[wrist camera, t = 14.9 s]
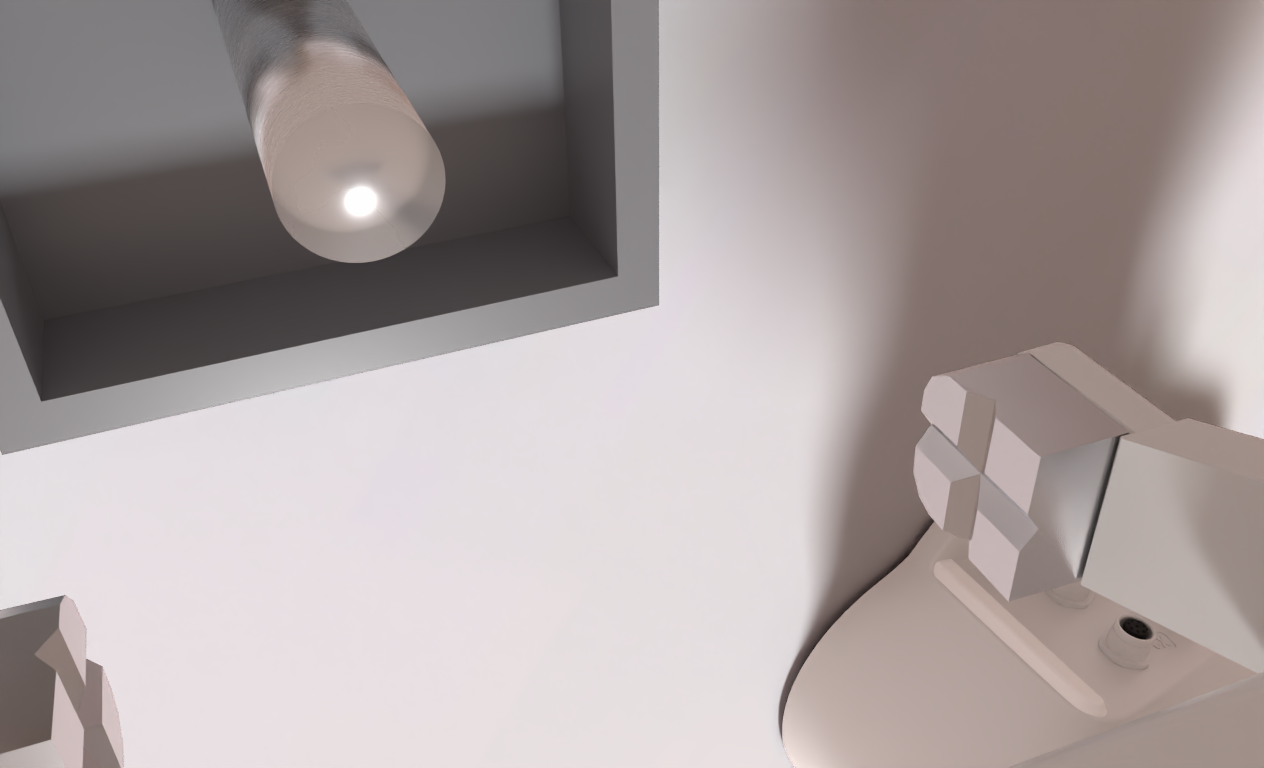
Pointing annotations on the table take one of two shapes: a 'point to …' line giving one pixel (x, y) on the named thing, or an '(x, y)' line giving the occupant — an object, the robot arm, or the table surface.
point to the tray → (251, 229)
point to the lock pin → (332, 128)
